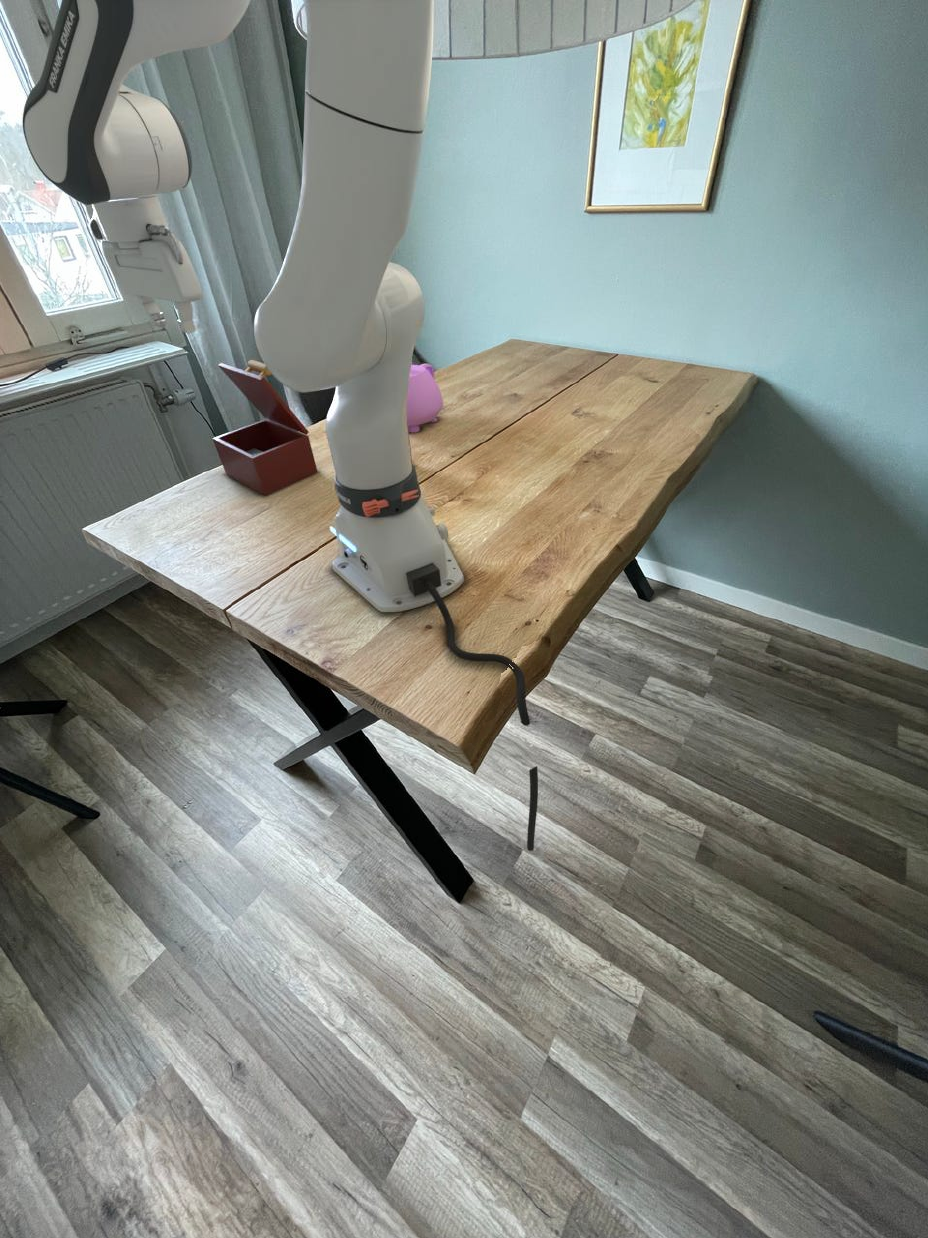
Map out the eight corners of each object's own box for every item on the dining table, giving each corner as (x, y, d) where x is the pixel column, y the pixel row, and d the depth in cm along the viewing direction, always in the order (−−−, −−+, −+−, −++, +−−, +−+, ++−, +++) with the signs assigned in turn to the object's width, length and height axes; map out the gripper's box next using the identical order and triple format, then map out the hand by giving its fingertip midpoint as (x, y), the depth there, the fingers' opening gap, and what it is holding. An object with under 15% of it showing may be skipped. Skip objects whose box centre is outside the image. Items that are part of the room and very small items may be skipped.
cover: (260, 379, 92) (277, 360, 93) (217, 365, 100) (233, 347, 101) (306, 434, 103) (321, 417, 104) (264, 417, 112) (279, 401, 112)
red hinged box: (265, 496, 102) (252, 458, 97) (226, 474, 111) (212, 438, 105) (317, 472, 109) (308, 435, 104) (277, 453, 117) (266, 418, 112)
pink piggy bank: (404, 447, 116) (395, 382, 107) (354, 434, 123) (342, 372, 114) (462, 413, 129) (458, 353, 119) (413, 403, 136) (406, 345, 127)
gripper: (191, 222, 73) (226, 331, 82) (124, 220, 83) (162, 318, 93) (148, 228, 70) (189, 341, 79) (83, 225, 80) (127, 326, 89)
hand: (174, 328), depth 86 cm, fingers open, 8 cm apart
